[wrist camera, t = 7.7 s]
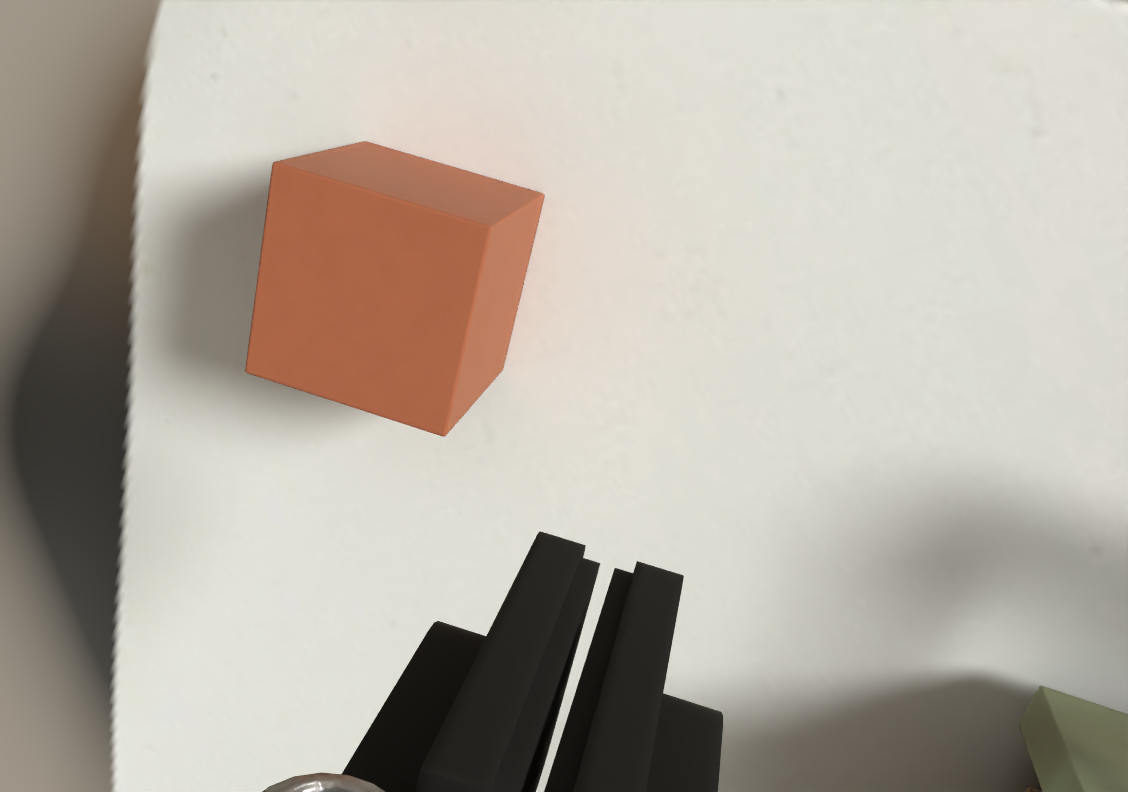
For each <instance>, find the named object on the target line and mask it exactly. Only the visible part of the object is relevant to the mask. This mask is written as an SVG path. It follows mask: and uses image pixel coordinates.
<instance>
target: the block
mask: <svg viewBox="0 0 1128 792" xmlns="http://www.w3.org/2000/svg"><path fill="white" fill-rule="evenodd" d="M543 201H544V194H543V193H540V192H537V191H533V190H530V189H526V188H523V187H520V186H516V185H513V184H509V183H506V182H503V181H499V180H496V179H492V178H489V177H486V176H482V175H479V174H475V173H472V172H468V171H465V170H462V169H458V168H455V167H451V166H448V165H445V164H441V163H438V162H434V161H431V160H428V159H424V158H421V157H417V156H414V155H410V154H407V153H404V152H400V151H397V150H393V149H390V148H387V147H383V146H380V145H376V144H373V143H369V142H366V141H364V142H359V143H355V144H351V145H346V146H342V147H338V148H333V149H329V150H324V151H320V152H316V153H311V154H307V155H302V156H298V157H294V158H289V159H285V160H280V161H276V162H274V163H273V165H272V172H271V180H270V187H269V195H268V202H267V210H266V218H265V225H264V233H263V240H262V248H261V255H260V263H259V271H258V278H257V286H256V293H255V301H254V308H253V316H252V324H251V331H250V339H249V346H248V354H247V361H246V369H245V371H246V373H249V374H252V375H255V376H258V377H261V378H264V379H267V380H270V381H273V382H277V383H280V384H283V385H286V386H289V387H292V388H295V389H298V390H301V391H304V392H307V393H310V394H314V395H317V396H320V397H323V398H326V399H329V400H332V401H335V402H338V403H341V404H344V405H347V406H351V407H354V408H357V409H360V410H363V411H366V412H369V413H372V414H375V415H378V416H381V417H384V418H388V419H391V420H394V421H397V422H400V423H403V424H406V425H409V426H412V427H415V428H418V429H421V430H425V431H428V432H431V433H434V434H437V435H440V436H446V435H447V434H448V433H449V431H450V430H451V429H452V428H453V427H454V426H455V424H456V423H457V422H458V421H459V420H460V419H461V418H462V416H463V415H464V414H465V413H466V412H467V411H468V409H469V408H470V407H471V406H472V405H473V404H474V403H475V401H476V400H477V399H478V398H479V397H480V396H481V394H482V393H483V392H484V391H485V390H486V389H487V388H488V386H489V385H490V384H491V383H492V382H493V381H494V379H495V378H496V377H497V376H498V375H499V374H500V373H501V371H502V370H503V367H504V363H505V359H506V355H507V351H508V346H509V342H510V338H511V334H512V330H513V326H514V321H515V317H516V313H517V309H518V305H519V301H520V296H521V292H522V288H523V284H524V280H525V276H526V272H527V267H528V263H529V259H530V255H531V251H532V247H533V242H534V238H535V234H536V230H537V226H538V222H539V217H540V213H541V209H542V205H543Z"/></svg>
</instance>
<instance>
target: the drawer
mask: <svg viewBox="0 0 1128 792" xmlns="http://www.w3.org/2000/svg"><path fill="white" fill-rule="evenodd" d="M1020 729H1021V731H1022V734H1023V737H1024V740H1025V743H1026V746H1027V749H1028V752H1029V755H1030V757H1031V760H1032V763H1033V766H1034V769H1035V772H1036V775H1037V778H1038V781H1039V783H1040V786H1041V789H1042V791H1040V790H1037V789H1034V788H1031V787H1028V788H1027V789H1026V791H1025V792H1128V714H1125V713H1122V712H1119V711H1116V710H1113V709H1110V708H1107V707H1104V706H1101V705H1098V704H1095V703H1092V702H1089V701H1086V700H1083V699H1080V698H1077V697H1074V696H1071V695H1068V694H1065V693H1062V692H1059V691H1056V690H1053V689H1050V688H1047V687H1043V686H1040V687H1039V689H1038V691H1037V692H1036V694H1035V696H1034V698H1033V700H1032V702H1031V704H1030V705H1029V707H1028V709H1027V711H1026V713H1025V715H1024V717H1023V719H1022V720H1021V722H1020Z"/></svg>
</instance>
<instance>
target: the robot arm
mask: <svg viewBox="0 0 1128 792" xmlns="http://www.w3.org/2000/svg"><path fill="white" fill-rule="evenodd" d="M585 546H586V545H583V544H579V543H576V542H573V541H570V540H566V539H563V538H560V537H557V536H553V535H550V534H547V533H544V532H539V533H538V534H537V536H536V538H535V540H534V542H533V544H532V546H531V548H530V550H529V552H528V554H527V556H526V558H525V560H524V562H523V564H522V566H521V568H520V570H519V572H518V574H517V576H516V578H515V580H514V582H513V584H512V586H511V588H510V590H509V592H508V594H507V596H506V598H505V600H504V602H503V604H502V606H501V608H500V610H499V612H498V614H497V616H496V618H495V620H494V622H493V624H492V626H491V628H490V630H489V632H488V634H487V636H483V635H480V634H477V633H474V632H471V631H468V630H465V629H462V628H458V627H455V626H452V625H449V624H446V623H443V622H440V621H437V622H435V623H434V624H433V625H432V626H431V628H430V629H429V631H428V632H427V634H426V636H425V637H424V639H423V641H422V642H421V644H420V645H419V647H418V649H417V650H416V652H415V654H414V655H413V657H412V659H411V660H410V662H409V664H408V665H407V667H406V669H405V670H404V672H403V674H402V675H401V677H400V679H399V680H398V682H397V684H396V685H395V687H394V688H393V690H392V692H391V693H390V695H389V697H388V698H387V700H386V702H385V703H384V705H383V707H382V708H381V710H380V712H379V713H378V715H377V717H376V718H375V720H374V722H373V723H372V725H371V727H370V728H369V730H368V731H367V733H366V735H365V736H364V738H363V740H362V741H361V743H360V745H359V746H358V748H357V750H356V751H355V753H354V755H353V756H352V758H351V760H350V761H349V763H348V765H347V766H346V768H345V769H344V771H343V773H342V774H330V773H316V774H309V775H302V776H295V777H292V778H289V779H287V780H284V781H282V782H280V783H277V784H275V785H272V786H270V787H268V788H267V789H266V790H264V791H263V792H536V789H537V786H538V783H539V780H540V777H541V774H542V770H543V767H544V764H545V760H546V757H547V754H548V750H549V746H550V743H551V739H552V736H553V732H554V728H555V725H556V721H557V718H558V714H559V710H560V707H561V703H562V700H563V696H564V692H565V689H566V685H567V682H568V678H569V675H570V671H571V667H572V664H573V660H574V657H575V653H576V649H577V646H578V642H579V639H580V635H581V631H582V628H583V624H584V621H585V617H586V613H587V610H588V606H589V603H590V599H591V595H592V592H593V588H594V585H595V581H596V577H597V574H598V570H599V566H600V563H597V562H594V561H591V560H588V559H585V558H583V556H584V551H585ZM683 577H684V576H683V575H680V574H677V573H674V572H670V571H667V570H664V569H661V568H657V567H654V566H651V565H648V564H644V563H641V562H638V561H637V563H636V566H635V569H634V573H630V572H627V571H623V570H620V569H617V568H615V569H614V572H613V576H612V579H611V582H610V585H609V588H608V591H607V595H606V598H605V601H604V604H603V607H602V610H601V614H600V617H599V620H598V623H597V626H596V629H595V633H594V636H593V639H592V642H591V645H590V648H589V652H588V655H587V658H586V661H585V664H584V667H583V671H582V674H581V677H580V680H579V683H578V686H577V690H576V693H575V696H574V699H573V702H572V705H571V709H570V712H569V715H568V718H567V721H566V724H565V728H564V731H563V734H562V737H561V740H560V743H559V747H558V750H557V753H556V756H555V759H554V762H553V766H552V769H551V772H550V775H549V778H548V781H547V785H546V788H545V791H544V792H718V781H719V768H720V756H721V744H722V731H723V715H722V712H719V711H716V710H713V709H710V708H707V707H704V706H701V705H698V704H694V703H691V702H688V701H685V700H682V699H679V698H676V697H673V696H670V695H667V694H663V690H664V684H665V679H666V673H667V668H668V662H669V656H670V651H671V645H672V640H673V634H674V628H675V623H676V617H677V612H678V606H679V601H680V595H681V589H682V584H683Z"/></svg>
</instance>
